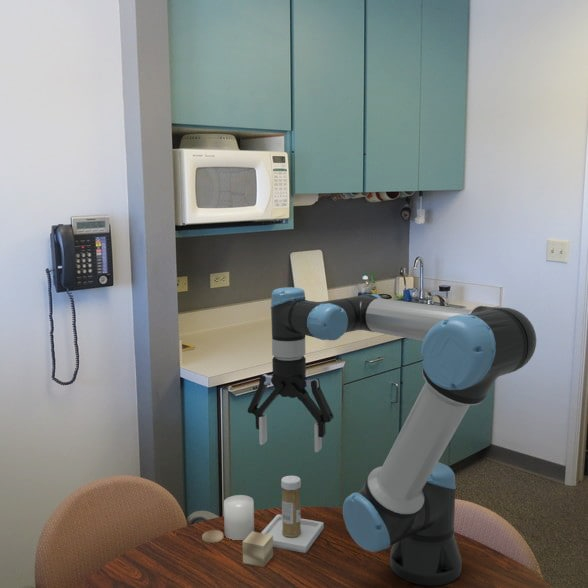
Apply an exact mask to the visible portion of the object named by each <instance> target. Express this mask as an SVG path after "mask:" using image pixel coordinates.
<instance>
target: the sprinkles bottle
mask: <svg viewBox="0 0 588 588" xmlns="http://www.w3.org/2000/svg"><path fill="white" fill-rule="evenodd" d="M280 481H281V482H280V485H281V515H282V523H283V524H282V525H283V530H282V534H283V535H285V536H287V537H296V536H298V535H300V534H301V527H300V520H301V519H302V517H301V514H302V513H301V487H302V480H301V478H300V476H297V475H285V476H283V477H282V478H281V480H280Z"/></svg>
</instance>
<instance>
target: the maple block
mask: <svg viewBox="0 0 588 588" xmlns="http://www.w3.org/2000/svg"><path fill="white" fill-rule="evenodd" d="M273 556H274V547H273V535H269V534H264V533H261V532H257V531H254V532H253V531H252V532H251V533H250V534H249V535H248V537H247V538H246V539H245V540H242V564H246V565H251V566H256V567H261V568H265V567H266V566H267V564H268V563H269V562H270V561H271V560H272V558H273Z"/></svg>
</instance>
